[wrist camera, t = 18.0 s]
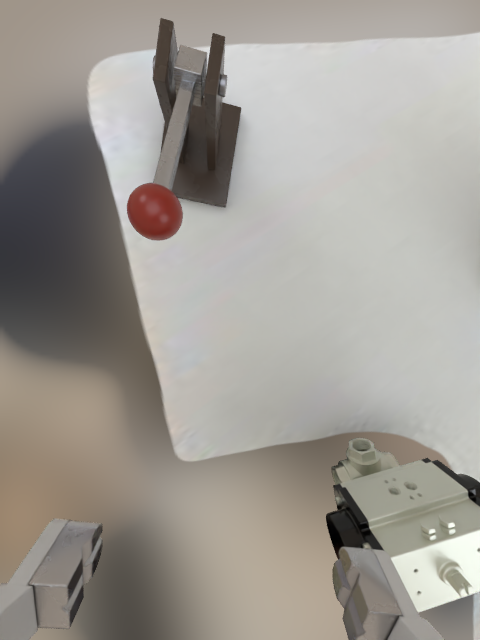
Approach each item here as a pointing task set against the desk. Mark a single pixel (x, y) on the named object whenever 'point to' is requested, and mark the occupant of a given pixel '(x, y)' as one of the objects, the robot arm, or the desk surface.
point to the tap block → (199, 123)
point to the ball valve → (410, 521)
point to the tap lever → (170, 153)
